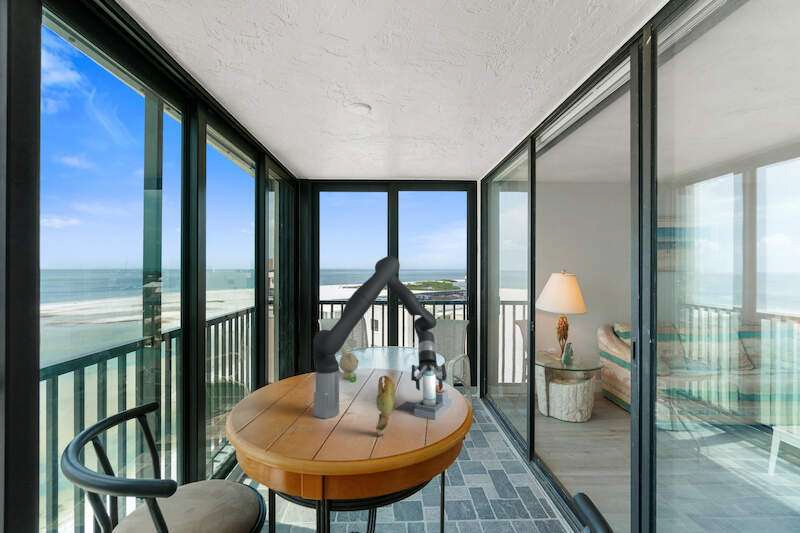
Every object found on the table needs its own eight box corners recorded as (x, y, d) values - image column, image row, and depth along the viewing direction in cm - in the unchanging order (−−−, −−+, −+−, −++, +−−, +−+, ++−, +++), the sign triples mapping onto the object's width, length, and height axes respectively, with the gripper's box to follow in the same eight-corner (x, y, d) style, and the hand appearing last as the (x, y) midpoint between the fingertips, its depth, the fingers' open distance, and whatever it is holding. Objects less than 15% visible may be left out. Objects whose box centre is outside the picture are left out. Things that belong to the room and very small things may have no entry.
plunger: (440, 394, 148) (440, 387, 148) (433, 392, 149) (433, 386, 149) (443, 391, 150) (443, 385, 150) (436, 390, 152) (436, 384, 152)
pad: (416, 413, 141) (416, 413, 141) (395, 409, 146) (395, 408, 146) (427, 405, 150) (427, 405, 150) (406, 401, 155) (406, 401, 155)
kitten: (363, 380, 186) (363, 352, 187) (346, 383, 181) (346, 354, 182) (352, 374, 199) (351, 347, 200) (335, 376, 194) (335, 349, 194)
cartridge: (432, 410, 138) (432, 374, 138) (421, 408, 140) (420, 372, 141) (437, 406, 142) (437, 371, 143) (426, 404, 145) (426, 369, 145)
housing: (435, 419, 135) (435, 403, 135) (414, 415, 140) (414, 400, 140) (451, 405, 150) (451, 391, 150) (432, 401, 154) (431, 387, 155)
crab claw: (396, 433, 124) (396, 375, 125) (391, 439, 119) (390, 379, 120) (378, 430, 127) (378, 373, 127) (372, 436, 122) (372, 377, 122)
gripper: (410, 349, 150) (411, 385, 138) (444, 349, 150) (448, 384, 138) (410, 358, 155) (411, 394, 143) (443, 358, 155) (446, 393, 143)
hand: (429, 389), depth 141 cm, fingers open, 8 cm apart
